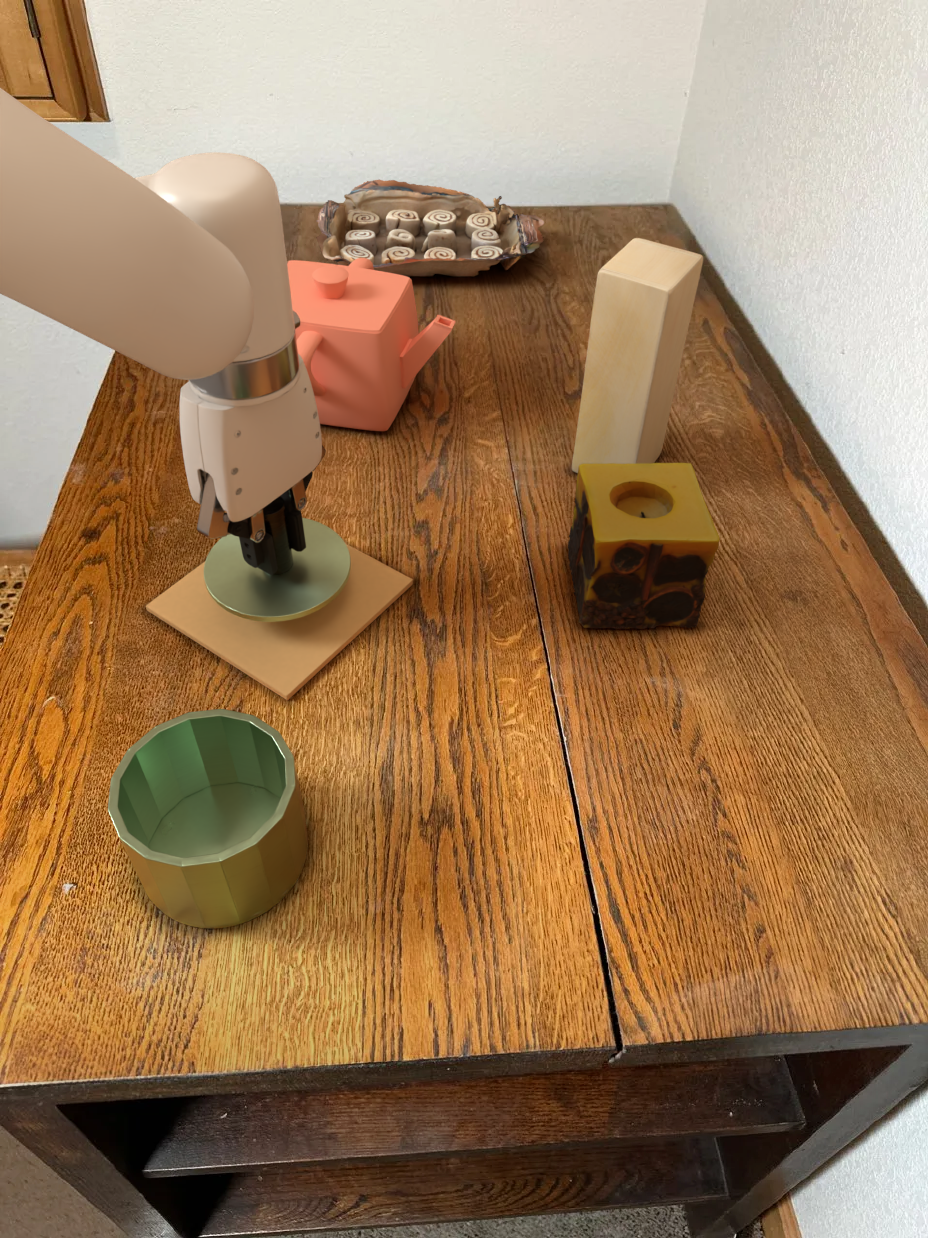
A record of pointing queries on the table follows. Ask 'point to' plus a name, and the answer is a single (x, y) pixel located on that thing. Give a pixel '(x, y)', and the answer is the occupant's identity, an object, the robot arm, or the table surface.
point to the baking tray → (424, 230)
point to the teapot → (360, 340)
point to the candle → (640, 545)
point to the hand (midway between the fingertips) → (275, 553)
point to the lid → (279, 572)
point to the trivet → (282, 624)
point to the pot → (211, 817)
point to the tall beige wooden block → (635, 352)
